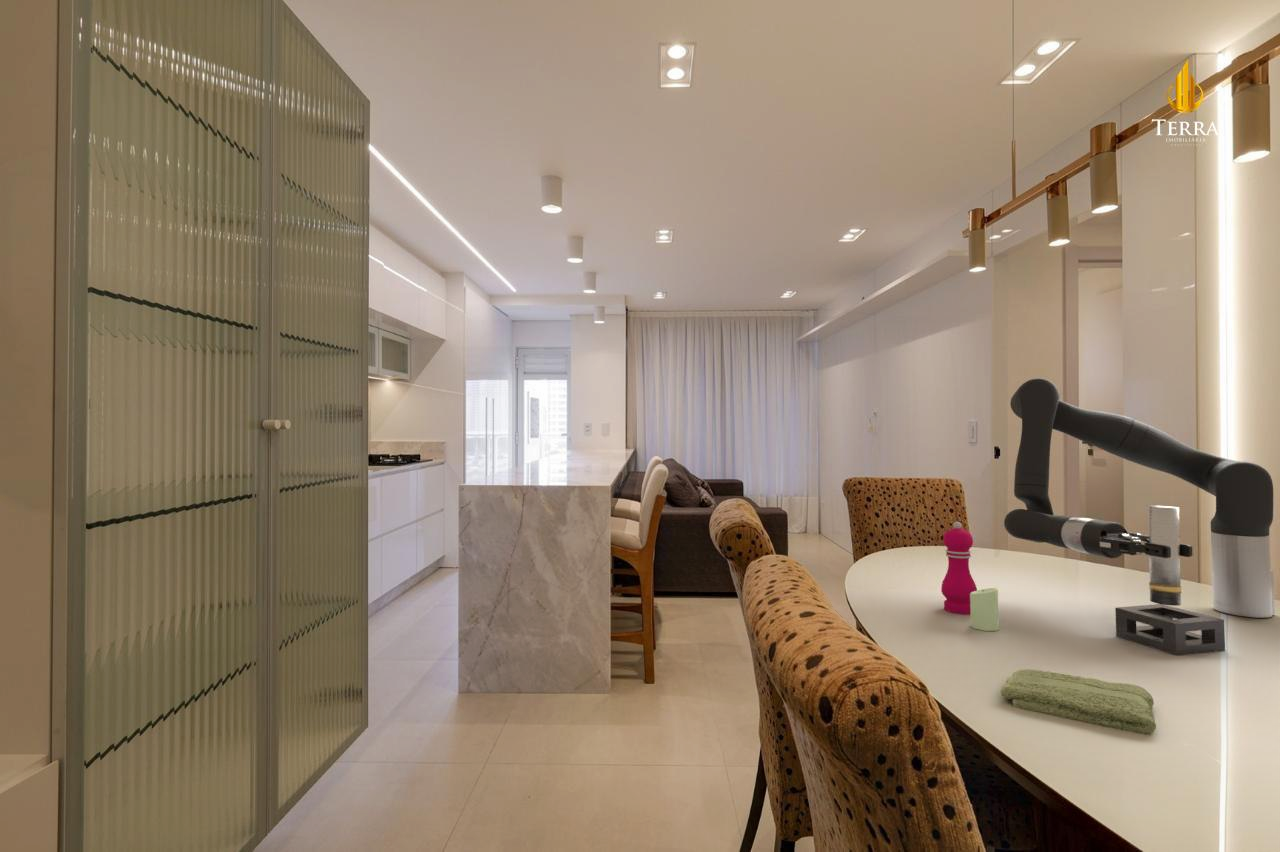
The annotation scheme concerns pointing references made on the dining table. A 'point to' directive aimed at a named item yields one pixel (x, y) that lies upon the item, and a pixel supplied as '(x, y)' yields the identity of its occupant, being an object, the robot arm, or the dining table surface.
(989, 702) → the dining table surface
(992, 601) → the candle
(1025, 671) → the washcloth
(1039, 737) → the dining table surface
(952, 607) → the pepper mill
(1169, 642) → the collar stand
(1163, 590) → the metal can
